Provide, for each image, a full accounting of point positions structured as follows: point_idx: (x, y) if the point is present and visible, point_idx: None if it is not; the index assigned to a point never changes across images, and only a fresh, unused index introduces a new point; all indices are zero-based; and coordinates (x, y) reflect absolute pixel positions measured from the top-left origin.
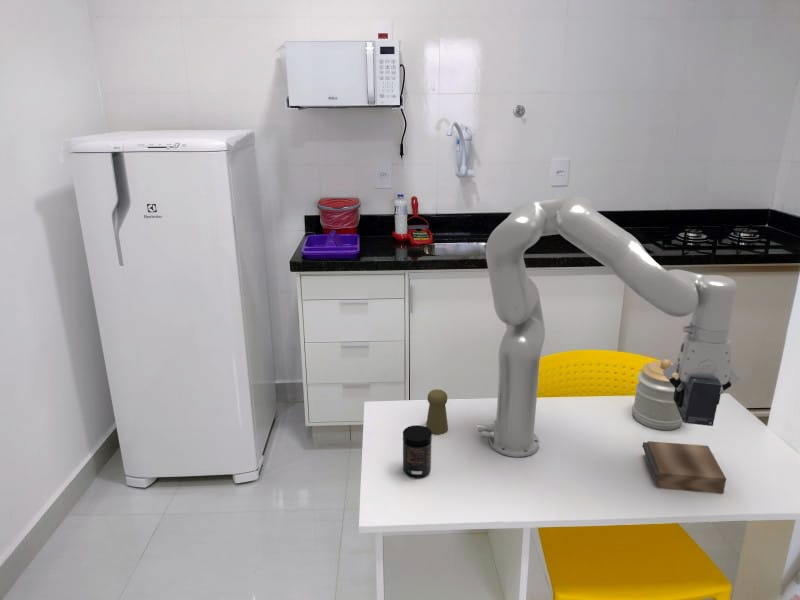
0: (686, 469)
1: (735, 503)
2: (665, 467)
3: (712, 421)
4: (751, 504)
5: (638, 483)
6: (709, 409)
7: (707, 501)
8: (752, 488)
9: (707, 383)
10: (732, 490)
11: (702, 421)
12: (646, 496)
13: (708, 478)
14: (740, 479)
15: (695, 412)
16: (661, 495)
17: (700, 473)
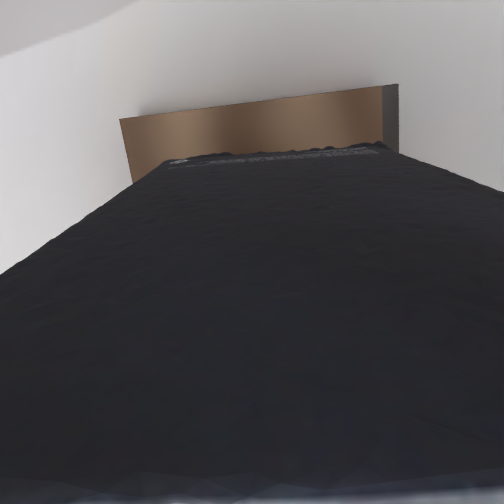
0: (268, 145)
1: (101, 66)
2: (351, 136)
3: (162, 166)
4: (47, 76)
5: (426, 99)
6: (193, 180)
7: (196, 50)
8: (38, 178)
9: (355, 486)
10: (104, 147)
11: (246, 157)
12: (414, 19)
13: (188, 110)
14: (72, 221)
15: (335, 163)
16: (357, 42)
17: (216, 130)
